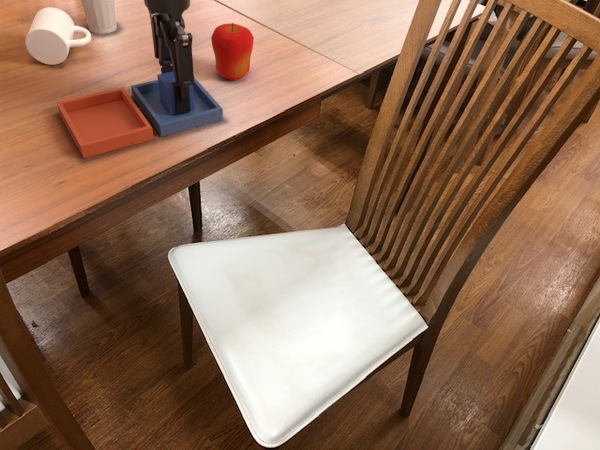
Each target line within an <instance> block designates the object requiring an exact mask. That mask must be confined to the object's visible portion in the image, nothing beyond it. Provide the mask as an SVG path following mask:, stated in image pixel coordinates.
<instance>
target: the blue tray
mask: <svg viewBox="0 0 600 450" xmlns="http://www.w3.org/2000/svg"><path fill="white" fill-rule="evenodd" d="M130 90H131V96H132V97H131V98H132V99H133V101H134V102H135V104H136V105H137V106H138V108H139V109H140V110H141V112H142V113H143V115H144V116H145V117H146V119H147V120H149V121H148V122H149V123H150V124H151V126H152V127H153V128H154V129H155V130H156V132H157V133H158V135H159V136H160V137H161V138H163V137H167V136H169V135H170V136H171V135H174V134H177V133H178V134H179V133H181V132H185V131H189V130H192V129H195V128H200V127H202V126H206V125H210V124H214V123H217V122H220V121H223V119H224V114H223V113H224V112H223V111H224V109H223V108H222V106H221V105H220V104H219V103H218V102H217V100H215V99H214V97H213V96H212V95H211V94H210V93H209V92H208V91H207V90H206V89H205V87H204V86H203V85H202V84H201V82H199V80H198V79H197V78H196V77H195V76H194V85H193V93H194V107H195V109H192V110H191V111H190V112H186V113H182V114H179V115H177V114H173V115H170V113H169V112H168V111H167V110H166V108H165V107H164V106H163V104H162V103H161V102H160V94H159V86H158V79H154V80H151V81H146V82H142V83H137V84H132V85H130Z"/></svg>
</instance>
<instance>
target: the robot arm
mask: <svg viewBox="0 0 600 450" xmlns="http://www.w3.org/2000/svg"><path fill="white" fill-rule="evenodd" d="M143 2H144V6H145V7H146V8H147V11H148V15H149V19H150V28H151V35H152V45H153V53H154V58H155V59H156V60H158V65H159V67H160V71H161V73H160V74H163V73H167V72H172V71H173V73H174V78H175V82H172V86H173V87H174V97H175V107H176V113H177V115H179V114H182V113H186V112H190V111H191V108H190V95H189V86H190V85H194V77H195V73H194V59H193V34H192V32H187V33H186V31H185V29H186V24H185V19H184V18H183V13H185V11H187V10H188V9H189V8H190V6H191V0H143Z"/></svg>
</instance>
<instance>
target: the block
mask: <svg viewBox="0 0 600 450" xmlns="http://www.w3.org/2000/svg"><path fill="white" fill-rule="evenodd" d="M156 77H157V80H158V86H159V94H160V102H161V103H162V104H163V106H164V107H165V108H166V110H167V111H168V112H169V113H170V115H173V114H177V113H176V107H175V97H174V87H173V86H172V82H175V78H174V73H173V71H172V72H167V73H163V74H161V73H158V74H157V75H156ZM189 95H190V108H191V110H192V109H195V107H194V93H193V85H190V86H189Z"/></svg>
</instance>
